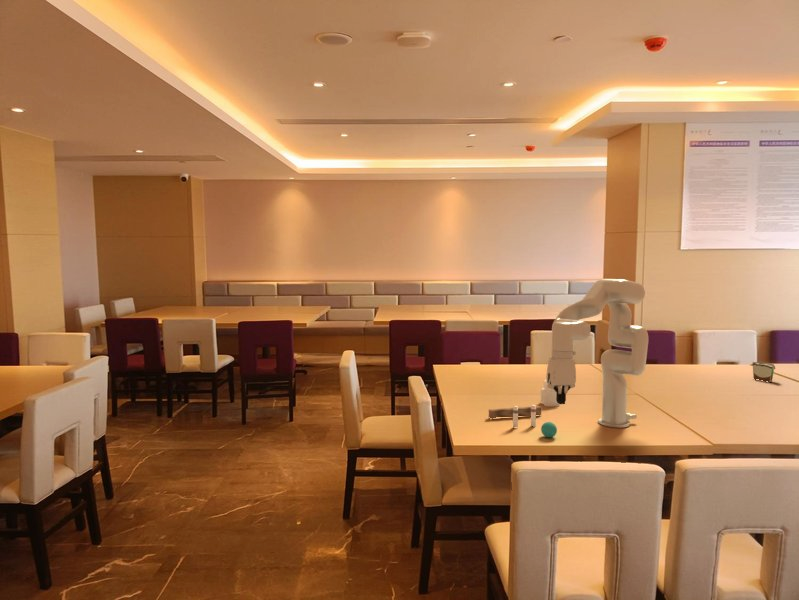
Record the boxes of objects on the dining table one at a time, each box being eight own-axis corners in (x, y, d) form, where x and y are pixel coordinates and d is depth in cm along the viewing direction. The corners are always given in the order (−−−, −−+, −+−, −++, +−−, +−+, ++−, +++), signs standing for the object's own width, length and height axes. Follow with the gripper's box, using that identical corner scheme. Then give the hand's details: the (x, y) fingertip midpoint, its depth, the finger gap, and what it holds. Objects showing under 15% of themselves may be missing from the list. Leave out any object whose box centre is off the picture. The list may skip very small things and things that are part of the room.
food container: (780, 382, 304) (780, 365, 303) (772, 383, 301) (773, 365, 300) (758, 378, 315) (759, 361, 314) (751, 379, 313) (751, 361, 312)
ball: (552, 434, 218) (552, 419, 218) (559, 439, 212) (559, 424, 212) (538, 435, 217) (538, 420, 217) (545, 440, 211) (545, 425, 211)
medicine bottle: (555, 402, 266) (555, 378, 265) (559, 406, 259) (560, 381, 258) (540, 402, 266) (540, 378, 265) (545, 406, 259) (545, 381, 258)
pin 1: (516, 426, 228) (516, 405, 227) (518, 428, 226) (518, 407, 225) (511, 427, 228) (512, 406, 227) (514, 428, 226) (514, 407, 225)
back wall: (539, 414, 245) (539, 406, 245) (541, 416, 243) (541, 407, 243) (488, 418, 240) (488, 409, 240) (490, 419, 238) (490, 410, 238)
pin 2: (534, 425, 230) (534, 404, 229) (536, 427, 228) (536, 405, 227) (529, 425, 229) (530, 404, 228) (531, 427, 227) (532, 406, 226)
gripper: (575, 352, 208) (574, 399, 209) (538, 353, 205) (537, 401, 206) (585, 356, 201) (584, 405, 202) (548, 357, 198) (547, 407, 199)
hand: (560, 403), depth 204 cm, fingers closed
